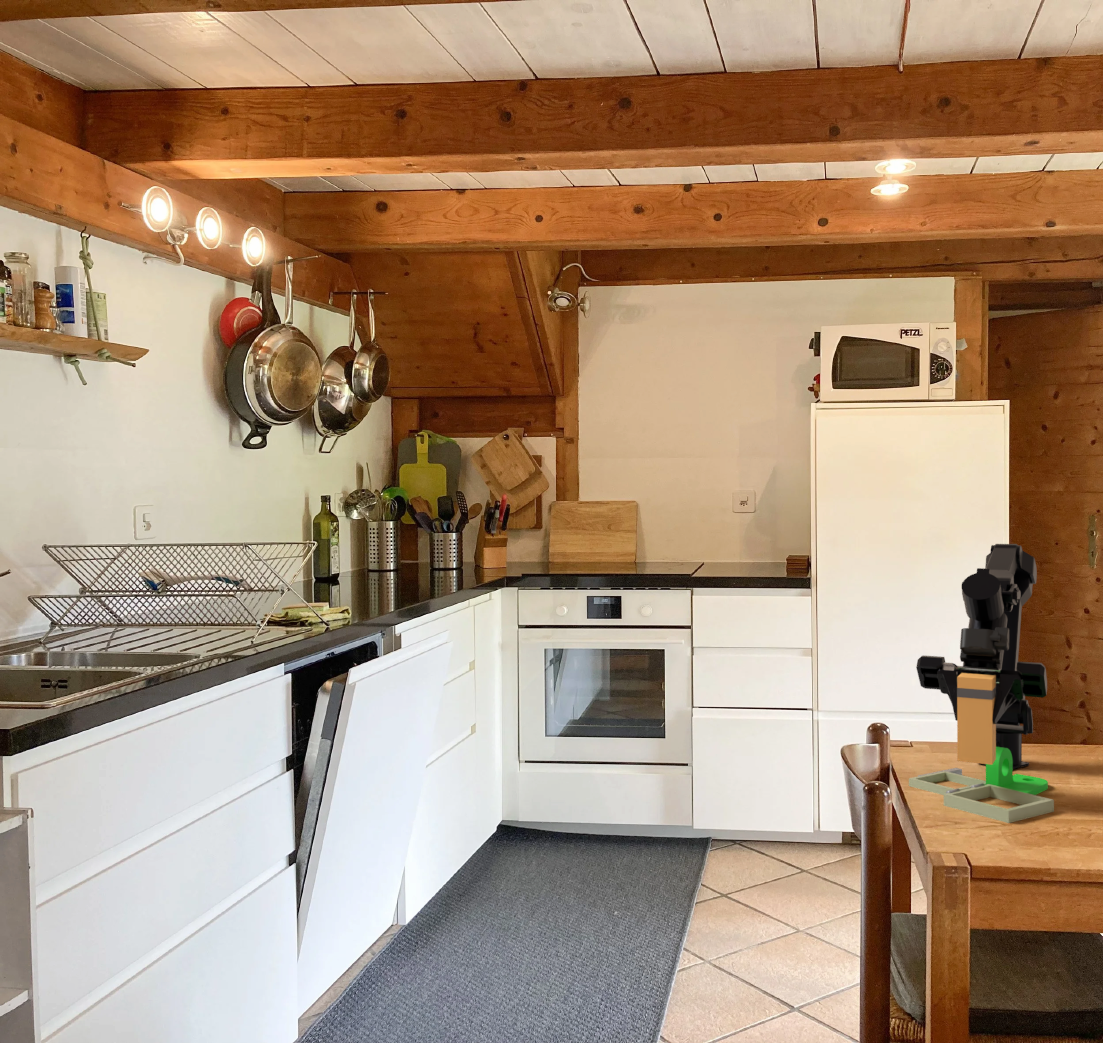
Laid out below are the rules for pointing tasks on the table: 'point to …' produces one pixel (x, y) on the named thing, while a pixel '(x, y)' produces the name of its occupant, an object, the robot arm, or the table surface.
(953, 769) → the stay rod
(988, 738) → the block
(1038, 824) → the table surface
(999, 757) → the mechanical part
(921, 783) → the lid
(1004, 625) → the robot arm
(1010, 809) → the case
